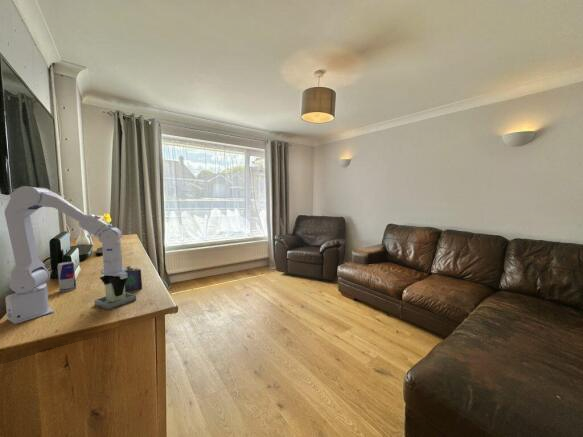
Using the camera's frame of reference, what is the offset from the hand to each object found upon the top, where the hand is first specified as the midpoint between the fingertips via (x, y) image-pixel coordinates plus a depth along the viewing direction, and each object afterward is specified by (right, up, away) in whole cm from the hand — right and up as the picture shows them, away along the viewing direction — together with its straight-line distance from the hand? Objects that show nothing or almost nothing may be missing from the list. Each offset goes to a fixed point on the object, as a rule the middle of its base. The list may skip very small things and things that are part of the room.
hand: (115, 294), depth 91 cm
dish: (0, -3, 0) cm, 3 cm away
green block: (0, -2, 0) cm, 2 cm away
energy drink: (-32, -3, +15) cm, 35 cm away
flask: (-3, -3, +13) cm, 14 cm away
